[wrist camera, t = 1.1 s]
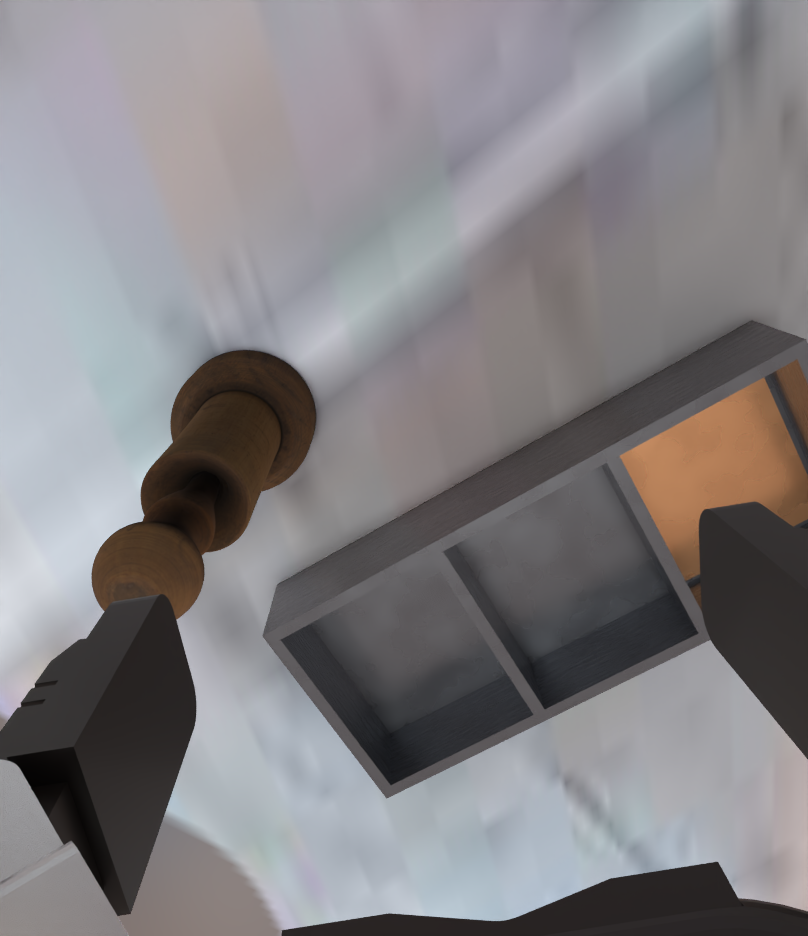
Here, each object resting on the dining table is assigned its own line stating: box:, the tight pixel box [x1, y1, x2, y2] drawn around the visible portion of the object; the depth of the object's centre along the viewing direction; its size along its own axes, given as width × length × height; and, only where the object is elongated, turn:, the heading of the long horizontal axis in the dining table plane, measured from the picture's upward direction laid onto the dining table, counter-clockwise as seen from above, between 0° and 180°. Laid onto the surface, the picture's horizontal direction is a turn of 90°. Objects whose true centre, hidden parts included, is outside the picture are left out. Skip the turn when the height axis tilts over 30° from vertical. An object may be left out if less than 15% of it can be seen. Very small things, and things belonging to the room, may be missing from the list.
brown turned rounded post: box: [92, 350, 316, 619], centre depth 29 cm, size 7×6×18 cm
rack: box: [263, 321, 808, 798], centre depth 38 cm, size 27×12×5 cm, turn 121°
